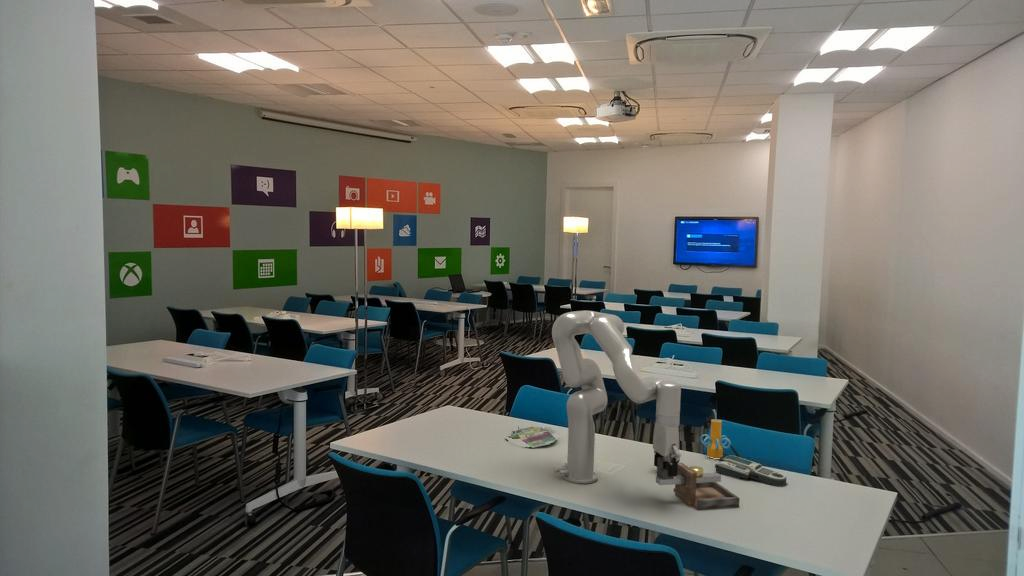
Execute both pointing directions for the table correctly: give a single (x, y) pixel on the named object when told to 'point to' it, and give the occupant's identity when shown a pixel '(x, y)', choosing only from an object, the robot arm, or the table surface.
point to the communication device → (748, 470)
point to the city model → (535, 436)
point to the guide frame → (703, 492)
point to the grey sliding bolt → (679, 479)
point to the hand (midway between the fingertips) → (665, 470)
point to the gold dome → (697, 471)
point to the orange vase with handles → (715, 440)
